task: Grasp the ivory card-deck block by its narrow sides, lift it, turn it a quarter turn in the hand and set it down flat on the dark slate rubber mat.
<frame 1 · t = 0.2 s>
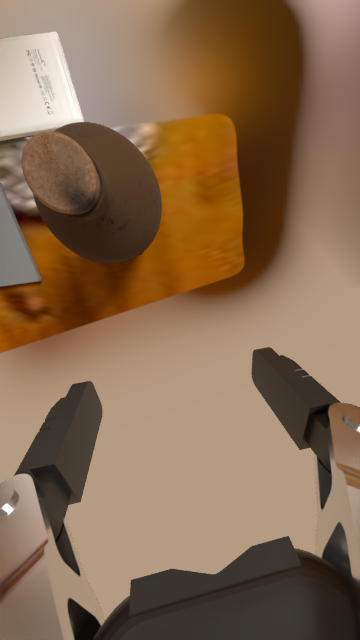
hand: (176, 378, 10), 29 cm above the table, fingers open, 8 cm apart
olive oil: (123, 217, 32), on the table
external hard drive: (27, 96, 25), on the table
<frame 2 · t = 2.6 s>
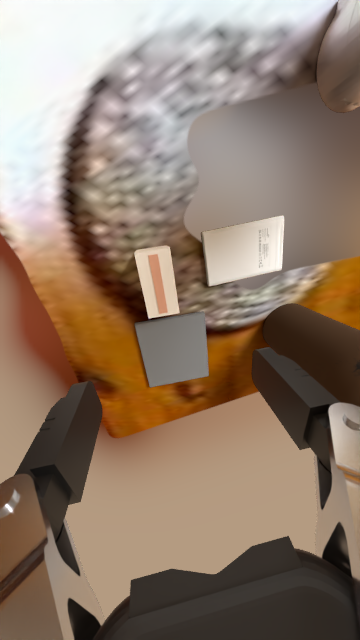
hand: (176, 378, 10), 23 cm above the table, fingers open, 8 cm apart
olive oil: (284, 325, 38), on the table
deck block: (157, 277, 30), on the table
external hard drive: (240, 251, 31), on the table
mat: (174, 350, 36), on the table
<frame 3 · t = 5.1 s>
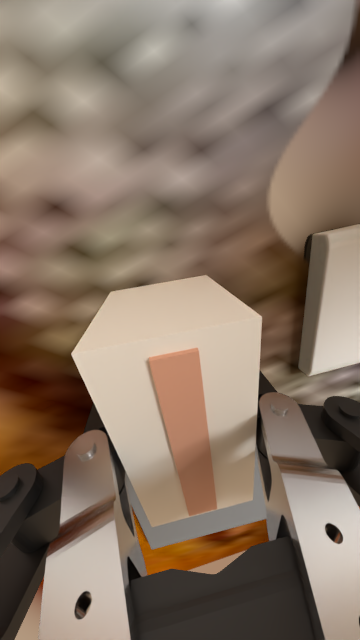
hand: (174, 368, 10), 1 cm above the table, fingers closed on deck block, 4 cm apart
deck block: (173, 360, 11), on the table, touching gripper
mat: (205, 487, 17), on the table
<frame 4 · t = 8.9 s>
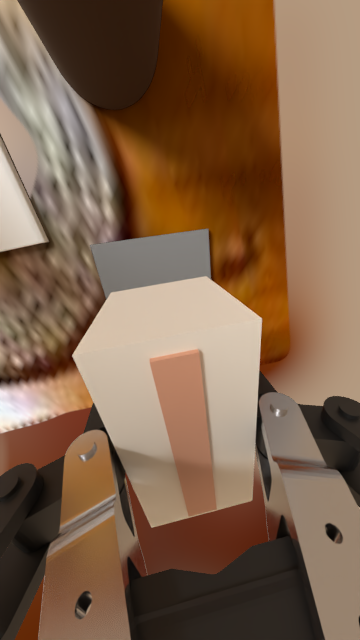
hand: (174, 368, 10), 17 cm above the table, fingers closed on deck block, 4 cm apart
olive oil: (104, 37, 17), on the table
deck block: (173, 361, 11), point 17 cm above the table, touching gripper
mat: (158, 284, 26), on the table
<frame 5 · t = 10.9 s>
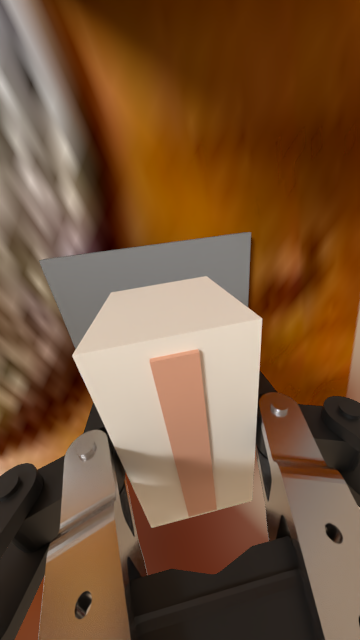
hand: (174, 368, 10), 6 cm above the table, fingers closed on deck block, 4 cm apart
deck block: (173, 361, 11), point 6 cm above the table, touching gripper
mat: (163, 322, 16), on the table
when the fingers open (2 cm above the table, at t = 12.6 s): deck block stays where it is, resting on mat.
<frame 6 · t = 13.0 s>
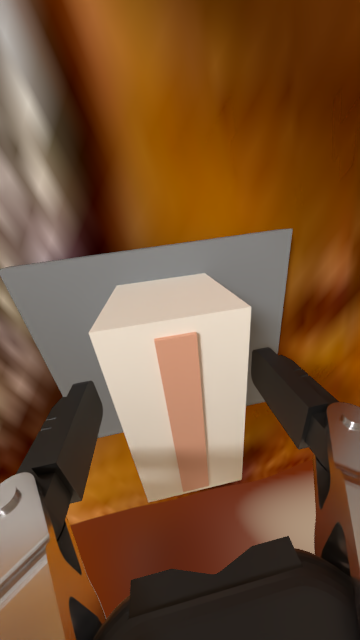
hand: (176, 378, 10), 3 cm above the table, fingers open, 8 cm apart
deck block: (172, 352, 12), point 1 cm above the table, touching mat
mat: (170, 345, 12), on the table
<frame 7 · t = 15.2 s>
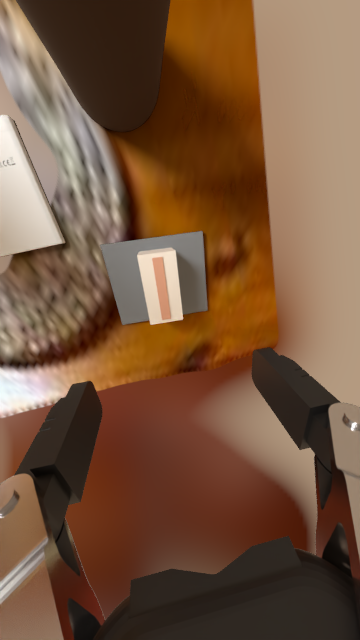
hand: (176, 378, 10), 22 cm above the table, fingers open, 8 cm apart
olive oil: (115, 74, 20), on the table
deck block: (160, 281, 29), point 1 cm above the table, touching mat
external hard drive: (11, 196, 23), on the table
mat: (159, 280, 29), on the table
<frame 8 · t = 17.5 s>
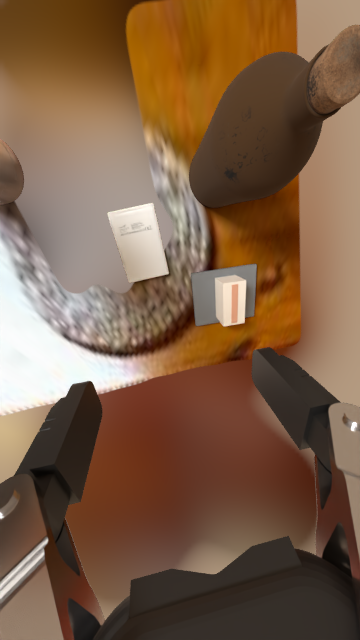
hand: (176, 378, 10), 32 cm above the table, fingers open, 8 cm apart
olive oil: (215, 176, 34), on the table
deck block: (225, 296, 42), point 1 cm above the table, touching mat
external hard drive: (140, 245, 37), on the table
mat: (223, 295, 43), on the table
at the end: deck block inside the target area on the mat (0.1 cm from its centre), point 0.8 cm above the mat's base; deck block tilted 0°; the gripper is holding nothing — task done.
